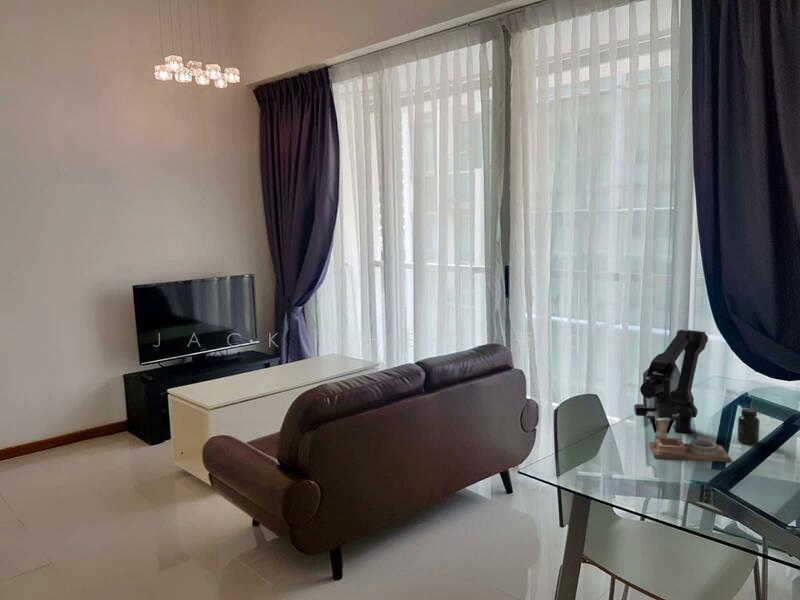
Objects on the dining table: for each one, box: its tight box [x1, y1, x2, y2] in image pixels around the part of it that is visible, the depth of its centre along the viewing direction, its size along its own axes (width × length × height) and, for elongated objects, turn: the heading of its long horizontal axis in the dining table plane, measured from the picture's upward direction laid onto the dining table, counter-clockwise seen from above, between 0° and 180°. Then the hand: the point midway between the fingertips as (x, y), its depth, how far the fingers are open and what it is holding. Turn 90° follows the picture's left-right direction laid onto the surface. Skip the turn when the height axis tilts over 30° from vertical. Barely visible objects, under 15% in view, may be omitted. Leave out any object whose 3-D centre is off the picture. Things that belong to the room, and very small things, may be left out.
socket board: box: [648, 437, 731, 463], centre depth 216 cm, size 12×24×4 cm, turn 77°
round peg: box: [654, 417, 668, 439], centre depth 228 cm, size 4×4×8 cm
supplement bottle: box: [736, 407, 761, 446], centre depth 223 cm, size 7×7×12 cm
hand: (661, 433), depth 228 cm, fingers closed on round peg, 4 cm apart
